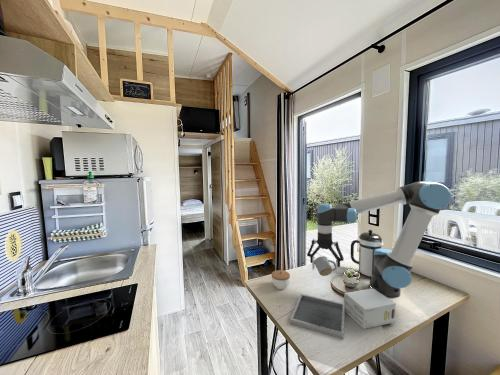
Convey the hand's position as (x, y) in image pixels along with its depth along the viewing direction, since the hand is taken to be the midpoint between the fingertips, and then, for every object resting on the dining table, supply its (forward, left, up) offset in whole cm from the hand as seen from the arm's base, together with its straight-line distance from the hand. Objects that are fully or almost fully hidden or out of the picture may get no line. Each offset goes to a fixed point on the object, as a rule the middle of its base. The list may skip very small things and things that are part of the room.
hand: (324, 270), depth 119 cm
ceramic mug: (-1, 0, -2) cm, 2 cm away
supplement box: (-21, +13, -13) cm, 28 cm away
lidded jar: (+24, +4, -13) cm, 28 cm away
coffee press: (-23, -33, -13) cm, 42 cm away
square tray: (0, +21, -13) cm, 25 cm away
